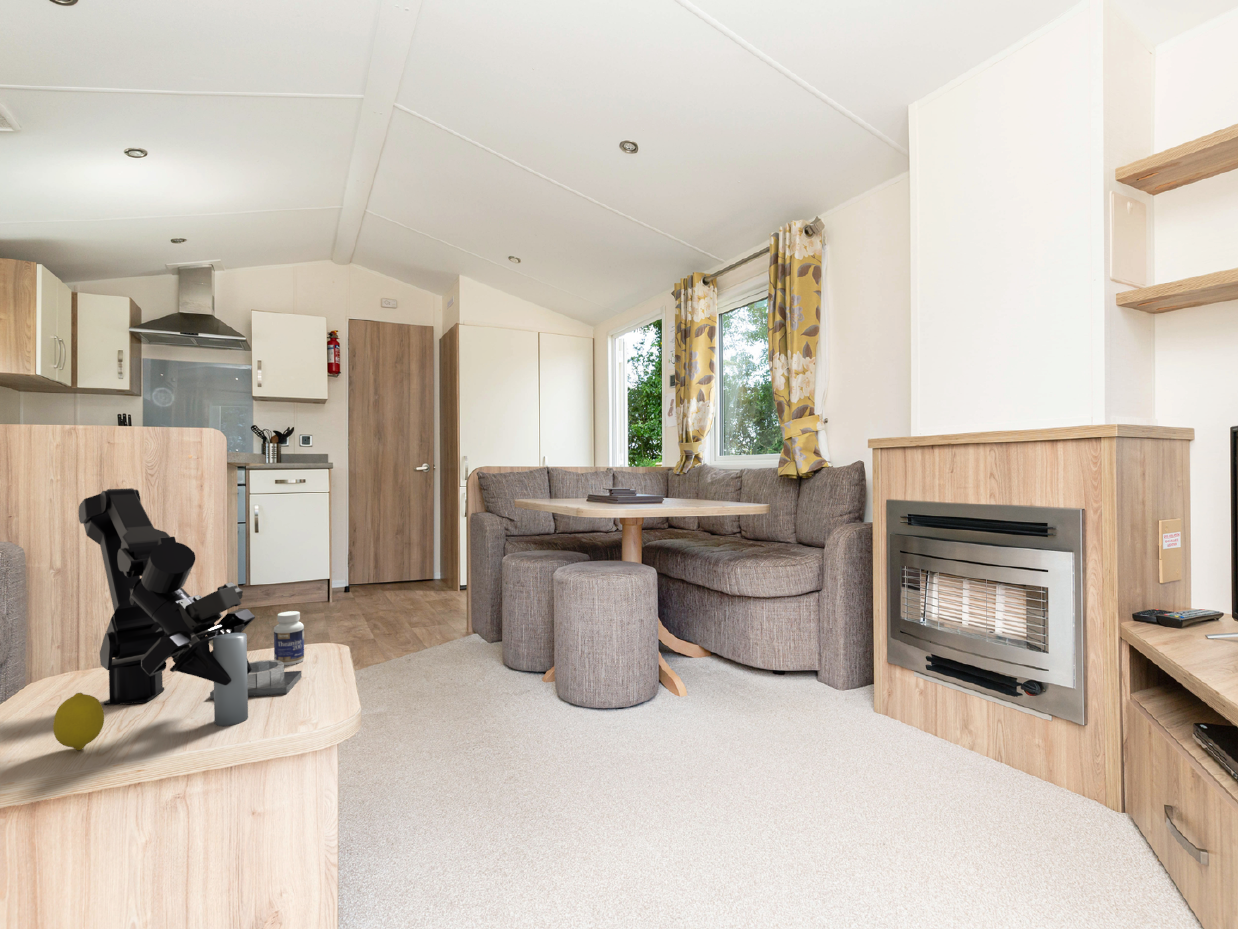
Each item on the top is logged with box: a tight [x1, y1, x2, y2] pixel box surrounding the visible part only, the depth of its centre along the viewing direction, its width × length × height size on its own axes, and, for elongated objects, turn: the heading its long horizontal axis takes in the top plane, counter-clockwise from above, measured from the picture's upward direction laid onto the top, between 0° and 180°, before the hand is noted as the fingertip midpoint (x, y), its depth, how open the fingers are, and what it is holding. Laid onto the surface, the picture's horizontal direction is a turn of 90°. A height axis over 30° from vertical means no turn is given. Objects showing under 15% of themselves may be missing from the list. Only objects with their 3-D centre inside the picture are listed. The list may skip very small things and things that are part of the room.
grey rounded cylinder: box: [212, 632, 249, 727], centre depth 103 cm, size 4×4×13 cm
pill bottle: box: [273, 610, 305, 666], centre depth 133 cm, size 5×5×10 cm
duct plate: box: [209, 659, 302, 700], centre depth 118 cm, size 12×9×4 cm
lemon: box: [52, 692, 105, 751], centre depth 93 cm, size 6×6×8 cm
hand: (239, 677), depth 103 cm, fingers closed on grey rounded cylinder, 4 cm apart
